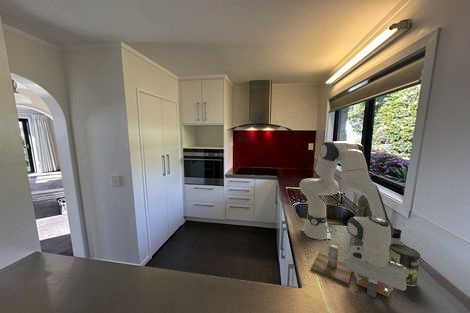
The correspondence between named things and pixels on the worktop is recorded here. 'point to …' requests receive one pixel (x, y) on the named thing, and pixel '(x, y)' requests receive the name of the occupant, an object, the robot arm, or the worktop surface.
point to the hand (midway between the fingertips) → (372, 288)
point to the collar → (372, 286)
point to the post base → (331, 272)
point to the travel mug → (395, 237)
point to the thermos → (362, 214)
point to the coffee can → (406, 261)
